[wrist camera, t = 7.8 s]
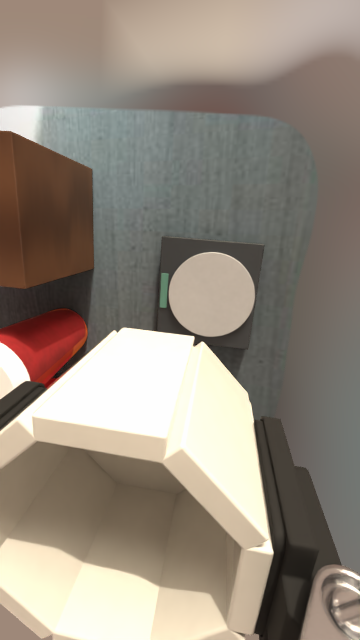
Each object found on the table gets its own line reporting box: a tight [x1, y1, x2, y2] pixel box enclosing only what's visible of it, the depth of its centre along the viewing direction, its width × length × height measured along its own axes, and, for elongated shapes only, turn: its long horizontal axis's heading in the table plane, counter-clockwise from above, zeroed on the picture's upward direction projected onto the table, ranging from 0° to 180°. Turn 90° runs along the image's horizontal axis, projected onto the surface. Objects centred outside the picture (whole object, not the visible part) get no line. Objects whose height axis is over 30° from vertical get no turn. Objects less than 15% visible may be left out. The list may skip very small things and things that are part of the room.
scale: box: [157, 236, 264, 349], centre depth 33 cm, size 12×11×2 cm
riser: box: [0, 131, 94, 289], centre depth 28 cm, size 11×11×13 cm
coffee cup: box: [0, 308, 87, 399], centre depth 31 cm, size 8×8×15 cm
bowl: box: [0, 328, 274, 640], centre depth 8 cm, size 7×7×5 cm
